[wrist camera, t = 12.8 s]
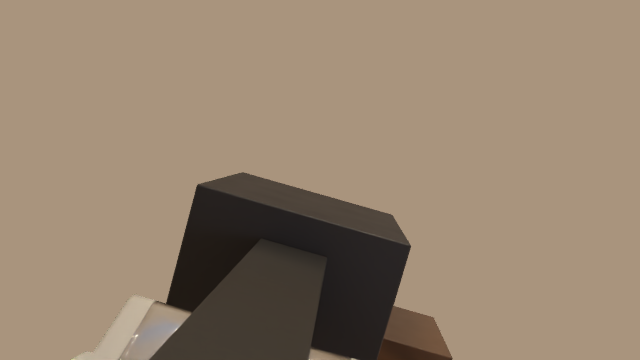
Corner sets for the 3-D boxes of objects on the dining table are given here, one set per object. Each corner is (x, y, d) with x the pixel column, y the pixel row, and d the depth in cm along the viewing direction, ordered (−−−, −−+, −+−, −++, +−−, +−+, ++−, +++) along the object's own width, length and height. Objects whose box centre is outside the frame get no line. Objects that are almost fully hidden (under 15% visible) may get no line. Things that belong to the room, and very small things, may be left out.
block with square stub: (365, 307, 27) (392, 214, 27) (404, 690, 8) (501, 389, 8) (217, 264, 27) (242, 171, 27) (-81, 536, 8) (-13, 238, 8)
